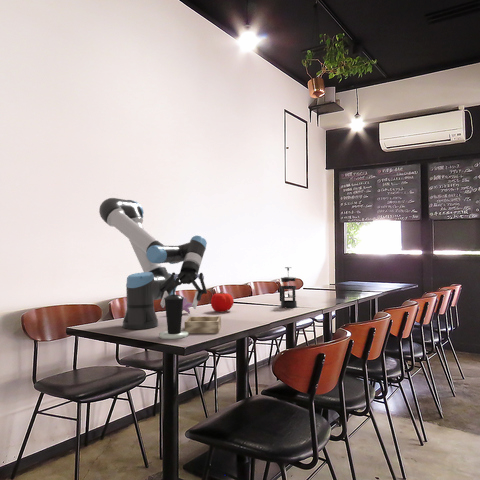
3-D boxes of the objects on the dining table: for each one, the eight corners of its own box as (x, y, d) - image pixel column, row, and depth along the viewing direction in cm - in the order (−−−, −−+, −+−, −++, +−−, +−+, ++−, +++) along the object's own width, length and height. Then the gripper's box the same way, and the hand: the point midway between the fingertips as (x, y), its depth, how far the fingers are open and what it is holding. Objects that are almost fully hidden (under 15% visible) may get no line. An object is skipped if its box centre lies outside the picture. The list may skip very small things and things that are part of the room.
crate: (184, 333, 165) (184, 321, 165) (189, 327, 179) (189, 316, 179) (218, 332, 165) (218, 321, 165) (221, 326, 179) (220, 316, 179)
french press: (301, 307, 238) (300, 267, 238) (290, 308, 232) (289, 267, 232) (286, 305, 247) (285, 266, 247) (275, 306, 241) (274, 267, 241)
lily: (197, 316, 215) (198, 299, 220) (181, 310, 208) (182, 292, 213) (181, 321, 222) (182, 305, 227) (164, 315, 214) (166, 298, 219)
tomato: (212, 310, 231) (212, 291, 231) (234, 309, 231) (234, 290, 231) (209, 313, 218) (209, 293, 218) (232, 313, 217) (232, 293, 218)
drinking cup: (174, 330, 165) (174, 280, 166) (188, 332, 161) (187, 280, 161) (160, 333, 159) (159, 281, 160) (173, 335, 154) (173, 282, 155)
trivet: (156, 339, 154) (156, 336, 154) (162, 333, 165) (162, 330, 165) (185, 339, 154) (185, 335, 154) (190, 333, 165) (190, 330, 165)
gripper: (220, 271, 178) (209, 312, 163) (167, 271, 184) (152, 310, 170) (216, 259, 173) (205, 301, 158) (161, 259, 179) (145, 299, 165)
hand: (177, 306), depth 164 cm, fingers open, 13 cm apart
